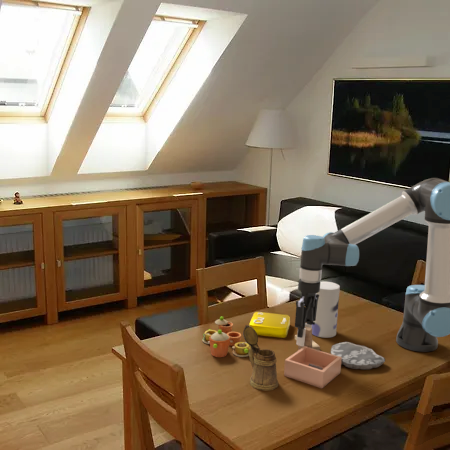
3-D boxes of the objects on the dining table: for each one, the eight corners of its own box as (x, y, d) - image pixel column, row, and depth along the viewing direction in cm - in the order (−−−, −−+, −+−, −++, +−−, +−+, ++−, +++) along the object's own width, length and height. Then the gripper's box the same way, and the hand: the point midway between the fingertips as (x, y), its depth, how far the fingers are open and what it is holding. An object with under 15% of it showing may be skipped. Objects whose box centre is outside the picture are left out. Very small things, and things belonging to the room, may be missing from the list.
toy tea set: (255, 358, 207) (256, 333, 205) (213, 363, 202) (214, 337, 200) (232, 330, 231) (233, 307, 229) (194, 333, 226) (195, 310, 224)
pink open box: (340, 373, 197) (341, 357, 195) (322, 389, 186) (323, 372, 184) (303, 361, 205) (304, 346, 203) (283, 376, 193) (284, 359, 192)
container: (338, 338, 225) (341, 289, 221) (312, 337, 226) (315, 288, 221) (333, 328, 235) (337, 281, 231) (309, 327, 235) (312, 280, 231)
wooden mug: (252, 370, 197) (254, 321, 193) (283, 385, 188) (286, 333, 184) (234, 379, 190) (236, 328, 186) (266, 394, 181) (269, 341, 177)
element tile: (286, 339, 224) (286, 327, 223) (248, 334, 227) (248, 323, 226) (290, 324, 239) (290, 313, 238) (254, 320, 242) (254, 310, 240)
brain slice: (317, 358, 208) (318, 350, 208) (347, 346, 219) (348, 339, 218) (362, 379, 194) (363, 371, 193) (391, 365, 205) (392, 357, 204)
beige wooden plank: (319, 351, 214) (319, 346, 214) (308, 352, 213) (309, 347, 213) (305, 338, 226) (305, 333, 225) (294, 339, 224) (294, 335, 224)
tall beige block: (312, 358, 207) (312, 328, 203) (309, 360, 206) (309, 330, 202) (300, 354, 210) (300, 325, 206) (298, 357, 208) (298, 327, 204)
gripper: (311, 273, 210) (304, 334, 214) (288, 282, 196) (282, 347, 200) (330, 277, 205) (323, 339, 210) (308, 287, 192) (301, 353, 196)
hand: (303, 343), depth 205 cm, fingers open, 4 cm apart
